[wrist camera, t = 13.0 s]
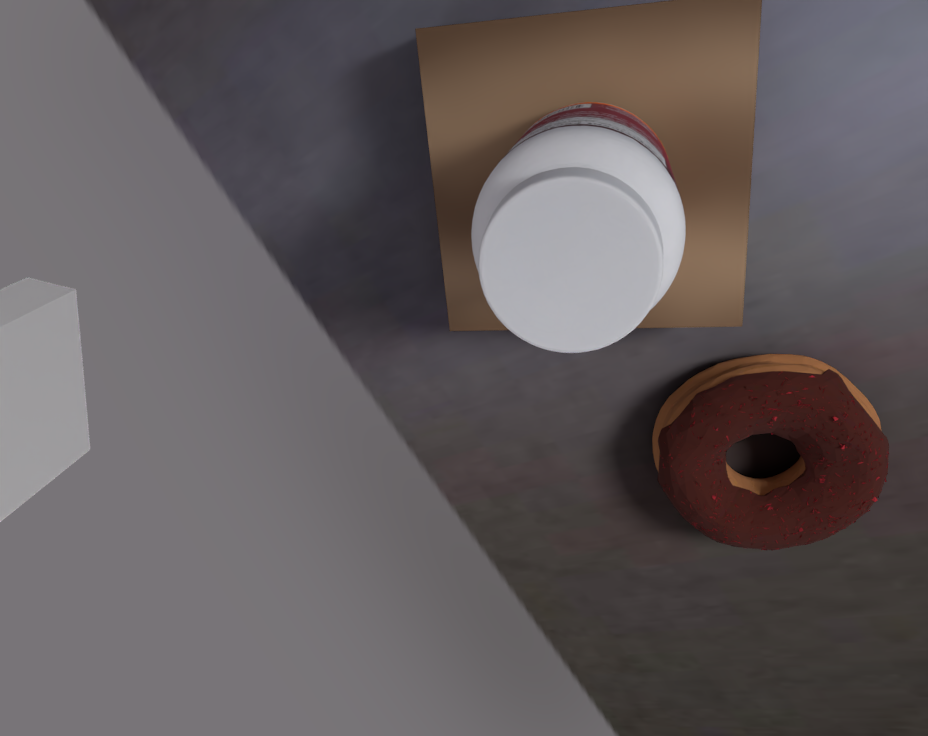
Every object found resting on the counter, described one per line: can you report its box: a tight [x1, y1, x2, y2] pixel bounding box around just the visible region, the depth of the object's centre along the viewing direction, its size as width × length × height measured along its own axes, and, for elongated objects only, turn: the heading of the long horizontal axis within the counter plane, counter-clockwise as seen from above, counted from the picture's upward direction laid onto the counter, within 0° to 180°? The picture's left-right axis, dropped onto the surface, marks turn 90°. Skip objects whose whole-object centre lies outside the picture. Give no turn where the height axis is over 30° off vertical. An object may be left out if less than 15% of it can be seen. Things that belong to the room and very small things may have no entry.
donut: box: [652, 354, 890, 550], centre depth 34 cm, size 10×10×4 cm
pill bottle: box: [471, 102, 686, 353], centre depth 24 cm, size 6×6×11 cm
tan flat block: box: [415, 0, 762, 331], centre depth 30 cm, size 12×12×4 cm
